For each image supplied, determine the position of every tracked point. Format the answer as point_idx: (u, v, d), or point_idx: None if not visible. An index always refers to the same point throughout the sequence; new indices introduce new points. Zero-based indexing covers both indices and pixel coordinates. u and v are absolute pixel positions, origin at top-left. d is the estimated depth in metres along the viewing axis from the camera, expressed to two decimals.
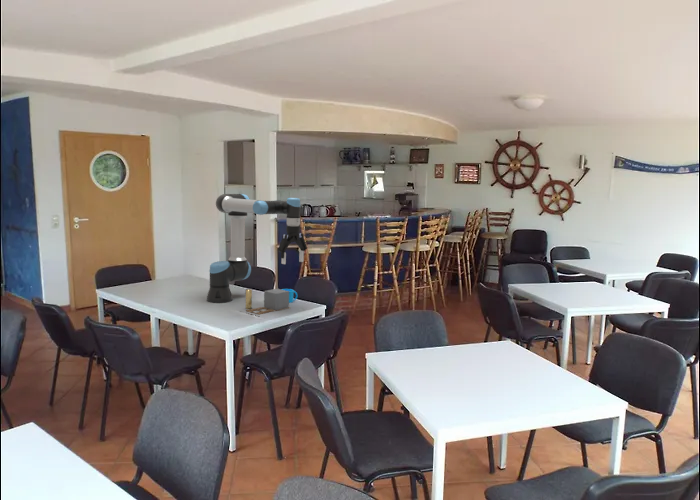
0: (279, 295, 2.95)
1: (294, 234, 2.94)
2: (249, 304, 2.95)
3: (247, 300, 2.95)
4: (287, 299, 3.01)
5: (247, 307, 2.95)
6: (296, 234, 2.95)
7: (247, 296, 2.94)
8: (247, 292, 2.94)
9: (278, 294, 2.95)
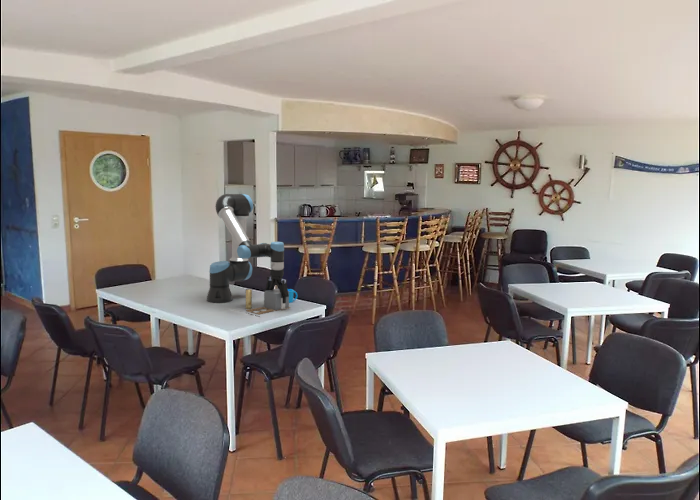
0: (279, 295, 2.95)
1: (275, 277, 2.98)
2: (249, 304, 2.95)
3: (247, 300, 2.95)
4: (287, 299, 3.01)
5: (247, 307, 2.95)
6: (277, 277, 2.97)
7: (247, 296, 2.94)
8: (247, 292, 2.94)
9: (278, 294, 2.95)
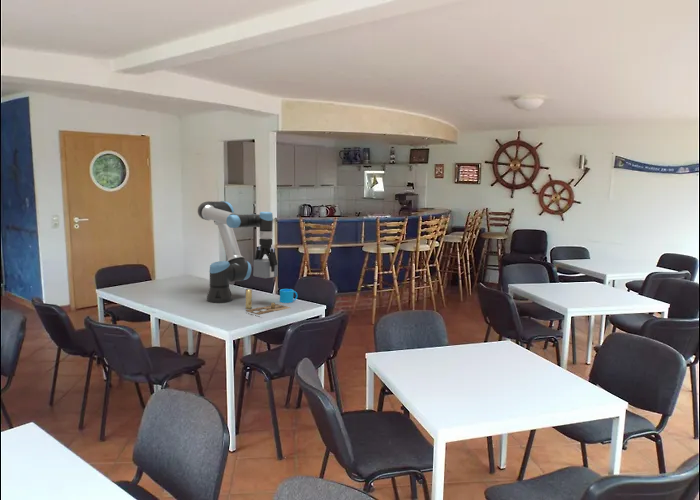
0: (267, 263, 3.02)
1: (264, 246, 3.05)
2: (249, 304, 2.95)
3: (247, 300, 2.95)
4: (276, 268, 3.07)
5: (247, 307, 2.95)
6: (266, 246, 3.04)
7: (247, 296, 2.94)
8: (247, 292, 2.94)
9: (267, 262, 3.01)
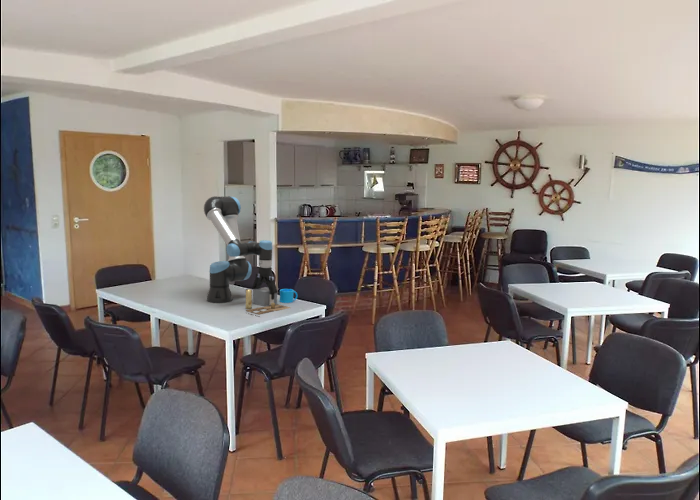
0: (267, 293, 3.04)
1: (263, 275, 3.08)
2: (249, 304, 2.95)
3: (247, 300, 2.95)
4: (275, 297, 3.10)
5: (247, 307, 2.95)
6: (265, 275, 3.07)
7: (247, 296, 2.94)
8: (247, 292, 2.94)
9: (266, 292, 3.04)
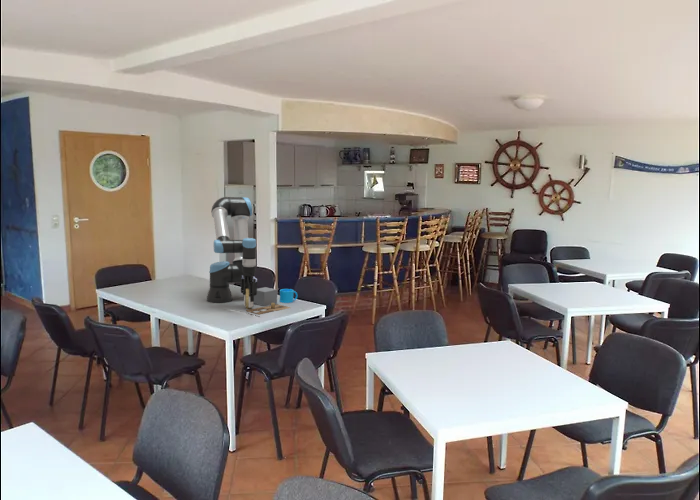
0: (267, 293, 3.04)
1: (247, 274, 2.94)
2: None
3: (247, 299, 2.95)
4: (275, 297, 3.10)
5: (247, 306, 2.96)
6: (249, 274, 2.92)
7: (247, 295, 2.95)
8: (247, 291, 2.94)
9: (266, 292, 3.04)
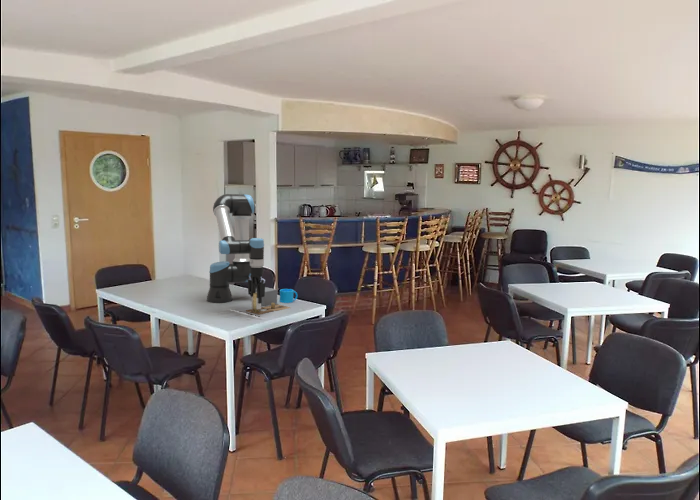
0: (267, 293, 3.04)
1: (255, 275, 2.86)
2: None
3: (255, 303, 2.87)
4: (275, 297, 3.10)
5: (255, 311, 2.88)
6: (257, 275, 2.85)
7: (255, 299, 2.87)
8: (255, 295, 2.87)
9: (266, 292, 3.04)
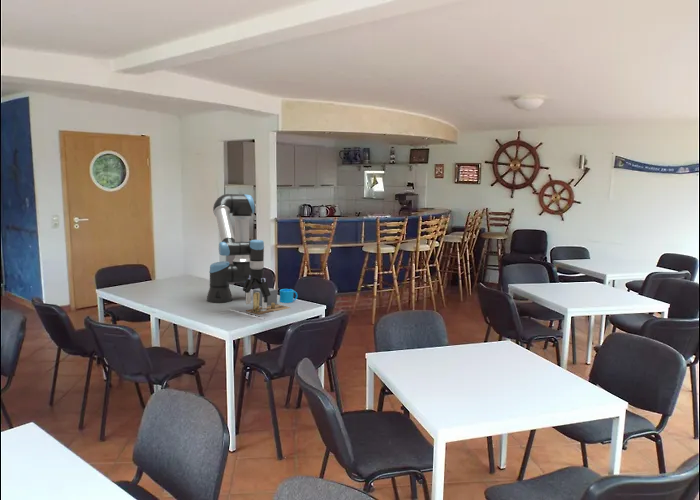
0: None
1: (255, 277, 2.86)
2: (257, 307, 2.88)
3: (255, 303, 2.87)
4: (275, 297, 3.10)
5: (255, 311, 2.88)
6: (256, 277, 2.85)
7: (255, 299, 2.87)
8: (255, 295, 2.87)
9: None
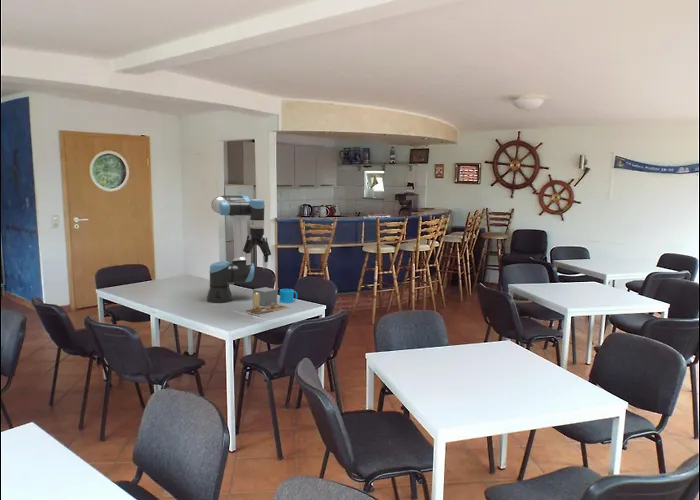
0: (267, 293, 3.04)
1: (255, 237, 2.83)
2: (257, 307, 2.88)
3: (255, 303, 2.87)
4: (275, 297, 3.10)
5: (255, 311, 2.88)
6: (257, 237, 2.83)
7: (255, 299, 2.87)
8: (255, 295, 2.87)
9: (266, 292, 3.04)
